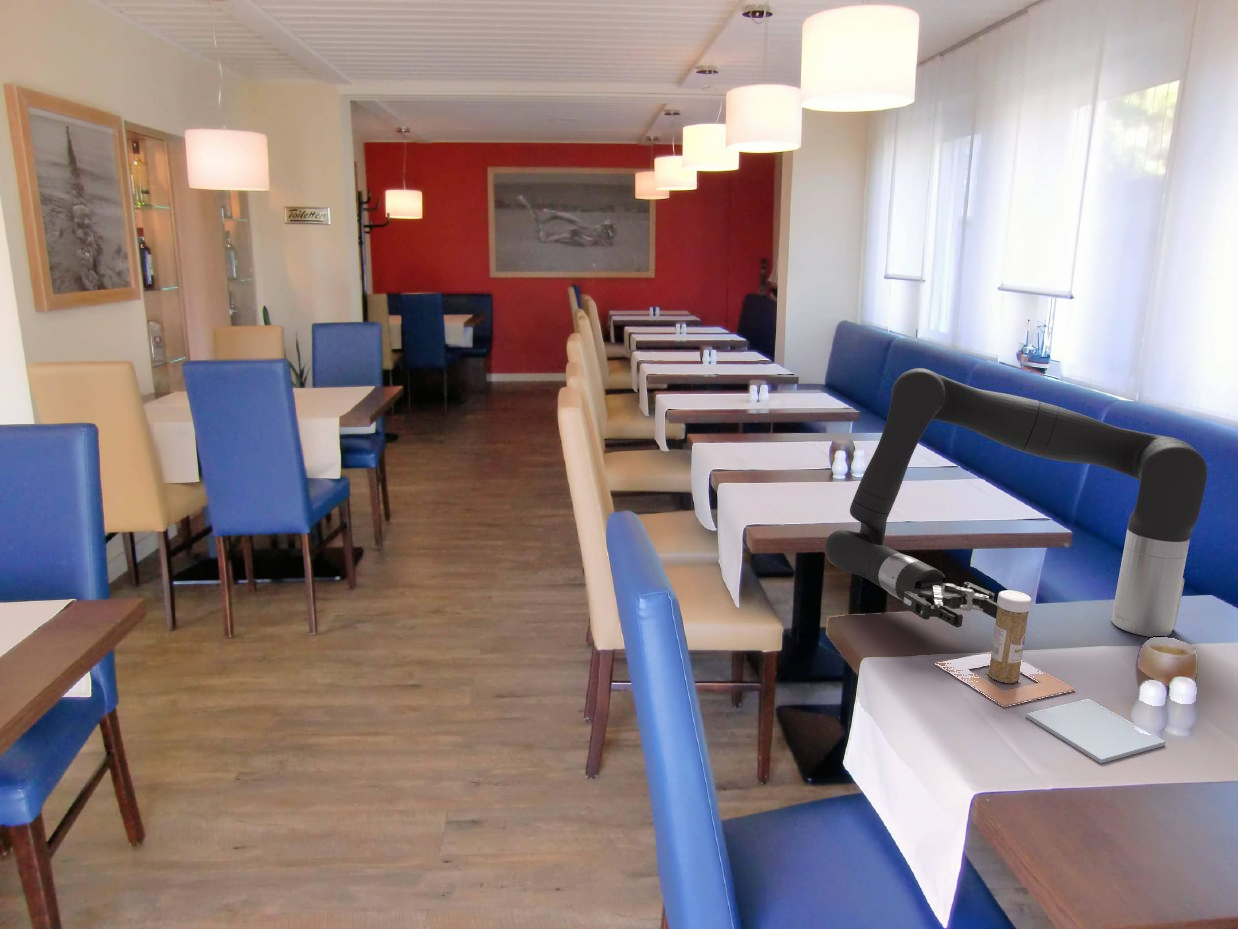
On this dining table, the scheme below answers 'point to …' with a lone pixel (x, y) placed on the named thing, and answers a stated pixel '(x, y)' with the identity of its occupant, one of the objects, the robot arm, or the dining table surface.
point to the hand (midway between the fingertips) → (982, 618)
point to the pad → (1094, 730)
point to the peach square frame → (1017, 695)
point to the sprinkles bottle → (1009, 636)
